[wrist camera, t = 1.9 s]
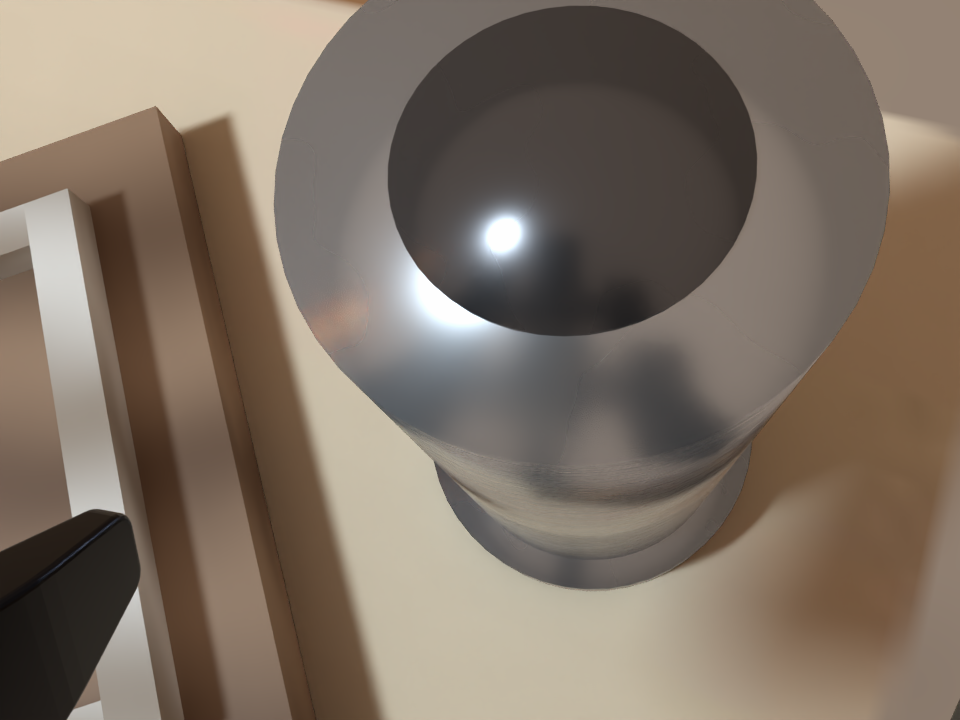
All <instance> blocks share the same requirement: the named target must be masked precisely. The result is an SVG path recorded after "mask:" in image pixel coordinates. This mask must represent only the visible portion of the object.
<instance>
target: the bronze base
mask: <svg viewBox="0 0 960 720" xmlns="http://www.w3.org/2000/svg"><path fill="white" fill-rule="evenodd" d="M91 509H102V510H107V511H113V512H118V513H123V514H124V515H127V517H128V518H129V519H130V521H131V523H132V527H133V532H134V537H135V541H136V546H137V551H138V556H139V560H140V565H141V575H140V581H139V584H138V587H137V589H136V591H135V593H134V595H133V597H132V599H131V601H130V603H129V605H128V607H127V609H126V611H125V613H124V615H123V617H122V618H121V620H120V622H119V624H118V626H117V628H116V630H115V632H114V634H113V636H112V638H111V640H110V642H109V644H108V645H107V647H106V649H105V651H104V653H103V655H102V657H101V659H100V661H99V663H98V665H97V667H96V669H95V671H94V672H93V674H92V676H91V678H90V680H89V682H88V684H87V686H86V688H85V690H84V691H83V693H82V695H81V697H80V699H79V700H78V702H77V704H76V706H75V707H74V709H73V711H72V712H71V714H70V716H69V717H68V719H67V720H316V718H315V713H314V709H313V705H312V700H311V696H310V692H309V687H308V683H307V679H306V674H305V670H304V666H303V661H302V657H301V653H300V648H299V644H298V640H297V635H296V631H295V627H294V622H293V618H292V614H291V609H290V605H289V601H288V596H287V592H286V588H285V583H284V579H283V575H282V570H281V566H280V562H279V557H278V553H277V549H276V544H275V540H274V536H273V531H272V527H271V523H270V518H269V514H268V510H267V505H266V501H265V497H264V492H263V488H262V484H261V479H260V475H259V471H258V466H257V462H256V458H255V453H254V449H253V445H252V440H251V436H250V432H249V427H248V423H247V419H246V414H245V410H244V405H243V401H242V397H241V392H240V388H239V384H238V379H237V375H236V371H235V366H234V362H233V358H232V353H231V349H230V345H229V340H228V336H227V332H226V327H225V323H224V319H223V314H222V310H221V306H220V301H219V297H218V293H217V288H216V284H215V280H214V275H213V271H212V267H211V262H210V258H209V254H208V249H207V245H206V241H205V236H204V232H203V228H202V223H201V219H200V215H199V210H198V206H197V202H196V197H195V193H194V189H193V184H192V180H191V176H190V171H189V167H188V163H187V158H186V154H185V150H184V145H183V141H182V137H181V135H180V134H179V132H178V131H177V130H176V129H175V128H174V127H173V126H172V124H171V123H170V122H169V121H168V120H167V119H166V117H165V116H164V115H163V114H162V113H161V112H160V110H159V109H158V108H157V107H156V106H155V107H152V108H149V109H146V110H144V111H141V112H138V113H135V114H133V115H130V116H127V117H124V118H121V119H119V120H116V121H113V122H110V123H107V124H105V125H102V126H99V127H96V128H93V129H91V130H88V131H85V132H82V133H79V134H77V135H74V136H71V137H68V138H66V139H63V140H60V141H57V142H54V143H52V144H49V145H46V146H43V147H40V148H38V149H35V150H32V151H29V152H26V153H24V154H21V155H18V156H15V157H12V158H10V159H7V160H4V161H1V162H0V551H2V550H4V549H6V548H8V547H11V546H13V545H15V544H17V543H19V542H21V541H23V540H25V539H28V538H30V537H32V536H34V535H36V534H38V533H40V532H43V531H45V530H47V529H49V528H51V527H53V526H55V525H58V524H60V523H62V522H64V521H66V520H68V519H70V518H73V517H75V516H77V515H79V514H81V513H83V512H85V511H88V510H91Z"/></svg>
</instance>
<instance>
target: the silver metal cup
mask: <svg viewBox="0 0 960 720" xmlns="http://www.w3.org/2000/svg"><path fill="white" fill-rule="evenodd" d="M889 194H890V180H889V152H888V146H887V140H886V135H885V129H884V124H883V118H882V115H881V112H880V109H879V106H878V103H877V100H876V97H875V94H874V91H873V88H872V85H871V83H870V81H869V79H868V77H867V75H866V73H865V71H864V69H863V67H862V65H861V63H860V61H859V59H858V58H857V55H856V54H855V52H854V50H853V49H852V47H851V46H850V44H849V43H848V41H847V40H846V39H845V37H844V36H843V35H842V33H841V32H840V31H839V29H838V27H837V26H836V25H835V23H834V22H833V20H832V19H831V18H830V17H829V16H828V15H826V13H825V12H824V11H823V10H822V9H821V8H820V7H819V6H818V5H817V4H816V3H815V2H814V0H368V1H367V2H366V3H365V4H364V5H363V6H362V7H361V8H360V9H359V10H358V11H357V12H355V13H354V14H353V15H352V16H351V17H350V18H349V19H348V20H347V22H346V23H345V24H344V25H343V26H342V28H341V29H340V30H339V31H338V32H337V34H336V35H335V36H334V37H333V38H332V40H331V41H330V42H329V43H328V44H327V46H326V47H325V49H324V50H323V52H322V53H321V55H320V57H319V58H318V60H317V61H316V63H315V64H314V66H313V67H312V69H311V70H310V72H309V74H308V75H307V77H306V79H305V82H304V84H303V86H302V88H301V90H300V92H299V94H298V96H297V98H296V100H295V102H294V104H293V107H292V110H291V113H290V116H289V119H288V122H287V125H286V128H285V131H284V134H283V137H282V141H281V146H280V151H279V157H278V162H277V167H276V174H275V193H274V213H275V224H276V236H277V243H278V247H279V251H280V255H281V260H282V264H283V268H284V272H285V276H286V278H287V281H288V283H289V286H290V288H291V291H292V293H293V296H294V299H295V301H296V304H297V306H298V308H299V310H300V312H301V313H302V315H303V317H304V319H305V320H306V322H307V324H308V326H309V327H310V329H311V331H312V333H313V334H314V336H315V338H316V339H317V341H318V342H319V343H320V345H321V346H322V347H323V348H324V350H325V351H326V352H327V353H328V355H329V356H330V357H331V359H332V360H333V361H334V362H335V364H336V365H337V366H338V367H339V369H340V370H341V371H342V372H343V373H344V374H345V375H346V376H347V377H348V378H349V379H351V380H352V381H353V382H354V383H355V384H356V385H357V386H358V387H359V388H360V389H361V390H362V391H363V392H364V393H365V394H366V395H367V396H368V397H369V398H370V399H371V400H372V401H373V402H374V403H375V404H376V405H377V406H378V407H379V408H380V409H381V410H382V411H383V412H384V413H385V414H386V415H387V416H388V417H389V418H390V419H391V420H393V421H394V422H395V423H396V424H397V425H398V426H399V427H400V428H401V429H402V430H403V431H404V432H405V433H406V434H407V435H408V436H409V437H410V438H411V439H412V440H413V441H414V442H415V443H416V444H417V445H418V446H419V447H420V448H421V449H422V450H423V451H424V452H425V453H426V454H427V455H428V456H429V457H430V458H431V459H432V460H433V461H434V463H435V467H436V471H437V474H438V478H439V482H440V484H441V487H442V489H443V491H444V494H445V496H446V498H447V501H448V502H449V504H450V506H451V507H452V509H453V511H454V513H455V514H456V516H457V518H458V519H459V520H460V522H461V523H462V524H463V526H464V527H465V528H466V529H467V531H468V532H469V533H470V534H471V536H472V537H473V538H474V539H476V540H477V541H478V542H479V543H480V544H481V545H482V546H483V547H484V548H485V549H486V550H487V551H488V552H490V553H491V554H492V555H494V556H495V557H496V558H498V559H499V560H500V561H502V562H503V563H505V564H506V565H508V566H509V567H511V568H513V569H515V570H517V571H518V572H520V573H522V574H524V575H526V576H528V577H530V578H533V579H535V580H538V581H540V582H543V583H545V584H549V585H553V586H557V587H561V588H565V589H573V590H582V591H606V590H614V589H620V588H626V587H630V586H634V585H637V584H640V583H643V582H647V581H649V580H652V579H654V578H656V577H658V576H660V575H662V574H665V573H667V572H668V571H670V570H672V569H673V568H675V567H676V566H678V565H679V564H681V563H682V562H684V561H685V560H687V559H688V558H689V557H690V556H692V555H693V554H694V553H695V552H696V551H697V550H699V549H700V548H701V547H702V546H703V545H704V544H706V543H707V541H708V540H709V539H710V538H711V537H712V536H713V535H714V534H715V532H716V531H717V530H718V529H719V528H720V527H721V525H722V524H723V522H724V521H725V519H726V518H727V516H728V515H729V513H730V512H731V510H732V509H733V506H734V504H735V502H736V500H737V498H738V496H739V494H740V492H741V490H742V487H743V483H744V480H745V477H746V474H747V471H748V466H749V460H750V454H751V445H752V440H753V439H754V438H755V437H756V435H757V434H758V433H759V432H760V430H761V429H762V428H763V427H764V425H765V424H766V423H767V422H768V420H769V419H770V418H771V417H772V415H773V414H774V413H775V412H776V410H777V409H778V408H779V407H780V405H781V404H782V403H783V402H784V400H785V399H786V398H787V397H788V395H789V394H790V393H791V392H792V390H793V389H794V388H795V387H796V385H797V384H798V383H799V382H800V380H801V379H802V378H803V377H804V376H805V374H806V373H807V372H808V371H809V369H810V368H811V367H812V366H813V364H814V363H815V362H816V361H817V359H818V358H819V357H820V356H821V354H822V353H823V352H824V351H825V349H826V348H827V347H828V346H829V344H830V343H831V342H832V341H833V339H834V338H835V336H836V335H837V333H838V332H839V330H840V329H841V327H842V326H843V324H844V323H845V321H846V320H847V318H848V317H849V315H850V314H851V312H852V311H853V309H854V308H855V306H856V305H857V302H858V300H859V298H860V296H861V294H862V292H863V290H864V287H865V285H866V283H867V281H868V279H869V277H870V275H871V272H872V270H873V268H874V265H875V261H876V258H877V255H878V251H879V248H880V244H881V241H882V238H883V234H884V231H885V224H886V216H887V209H888V201H889Z"/></svg>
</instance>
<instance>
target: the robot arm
mask: <svg viewBox="0 0 960 720" xmlns="http://www.w3.org/2000/svg"><path fill="white" fill-rule="evenodd" d="M140 575H141V565H140V560H139V556H138V551H137V546H136V541H135V537H134V532H133V527H132V523H131V521H130V519H129V518H128V517H127V515H124V514H123V513H118V512H113V511H107V510H102V509H91V510H88V511H85V512H83V513H81V514H79V515H77V516H75V517H73V518H70V519H68V520H66V521H64V522H62V523H60V524H58V525H55V526H53V527H51V528H49V529H47V530H45V531H43V532H40V533H38V534H36V535H34V536H32V537H30V538H28V539H25V540H23V541H21V542H19V543H17V544H15V545H13V546H11V547H8V548H6V549H4V550H2V551H0V720H67V719H68V717H69V716H70V714H71V712H72V711H73V709H74V707H75V706H76V704H77V702H78V700H79V699H80V697H81V695H82V693H83V691H84V690H85V688H86V686H87V684H88V682H89V680H90V678H91V676H92V674H93V672H94V671H95V669H96V667H97V665H98V663H99V661H100V659H101V657H102V655H103V653H104V651H105V649H106V647H107V645H108V644H109V642H110V640H111V638H112V636H113V634H114V632H115V630H116V628H117V626H118V624H119V622H120V620H121V618H122V617H123V615H124V613H125V611H126V609H127V607H128V605H129V603H130V601H131V599H132V597H133V595H134V593H135V591H136V589H137V587H138V584H139V581H140ZM951 720H960V700H959V702H958V704H957V707H956V709H955V711H954V713H953V716H952V718H951Z"/></svg>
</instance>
